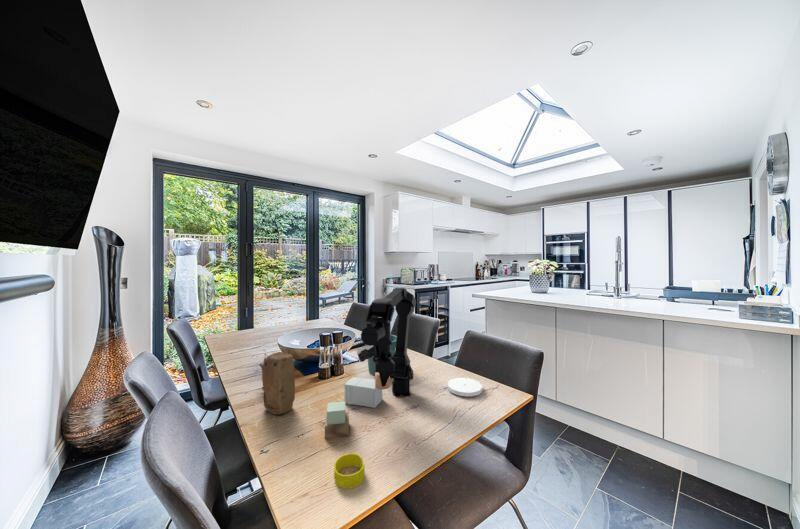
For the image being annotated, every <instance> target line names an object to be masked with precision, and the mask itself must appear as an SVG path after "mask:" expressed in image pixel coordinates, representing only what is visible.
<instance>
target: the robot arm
mask: <svg viewBox="0 0 800 529" xmlns="http://www.w3.org/2000/svg"><path fill="white" fill-rule="evenodd" d="M416 304H417V300H416V298H415V296H414V294H412V293H411V292H409V290H407V288H405V287H394V288H393V289H392V291H391V292H389V293H388V294H387V295H386V296H384V297H381V298H377V299H373V300H372V301H371V303H370V304H369V305H370V306H369V308H368V312H367V315H366V319H365V322H366V327H364V328H363V329H362V331H361V334H360V338H361V341H362V343H363V344H364V346H362V347H360V348H358V349H357V350H356V354H357V357H358V360H359V362H360V363H363V362H365V361H366V360H368V359H369V358H371V357H373V361H374V368H375V372H377V373H378V372H379V375H380V380H381V385H382V387H384V386H385V385H386V383H387V381H388V378H389V376H390V379H393V380H392V381H391V390H392V394H393V396H394V397H397V398H398V397H409V396H411V395H412V394H411V386H410V385H411V384H410V383H411V380H413V379H414V369H413V368H412V365H411V360H410V357H409V355H408V344H409V343H408V342H409V332H410V331H409V329H410V320H411V319H410V318H411V316H412V315H413V313H414V312H415V308H416V307H417V306H416ZM395 312H396V314H397V330H396V336H397V338H396V348H395V354H394V355H393V356H392V354H391V345H392V344H391V335H392V334H391V333H392V330H391V329H392V328H391V325H392V324H391V322H392V319H393V316H394V314H395ZM365 344H366V345H367V346H365ZM390 357H391V358H390Z"/></svg>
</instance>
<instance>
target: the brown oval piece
mask: <svg viewBox="0 0 800 529" xmlns="http://www.w3.org/2000/svg"><path fill="white" fill-rule="evenodd" d="M374 380H375V387H376V388H377V389H382V390H387V389H389V388H390V387H391V378H390V376H389V378H388V381H387V383H386V385H385V386H384V387H382V385H381V380H380V375H379V372H378V373H377V372H375V375H374Z"/></svg>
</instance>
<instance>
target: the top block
mask: <svg viewBox="0 0 800 529" xmlns="http://www.w3.org/2000/svg"><path fill="white" fill-rule="evenodd" d="M326 407H327V408H326V416H327V425H330V424H340V423H345V412H346V403H345V400H344V401H338V402H337V401H335V402H328V403H327V406H326Z"/></svg>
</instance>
